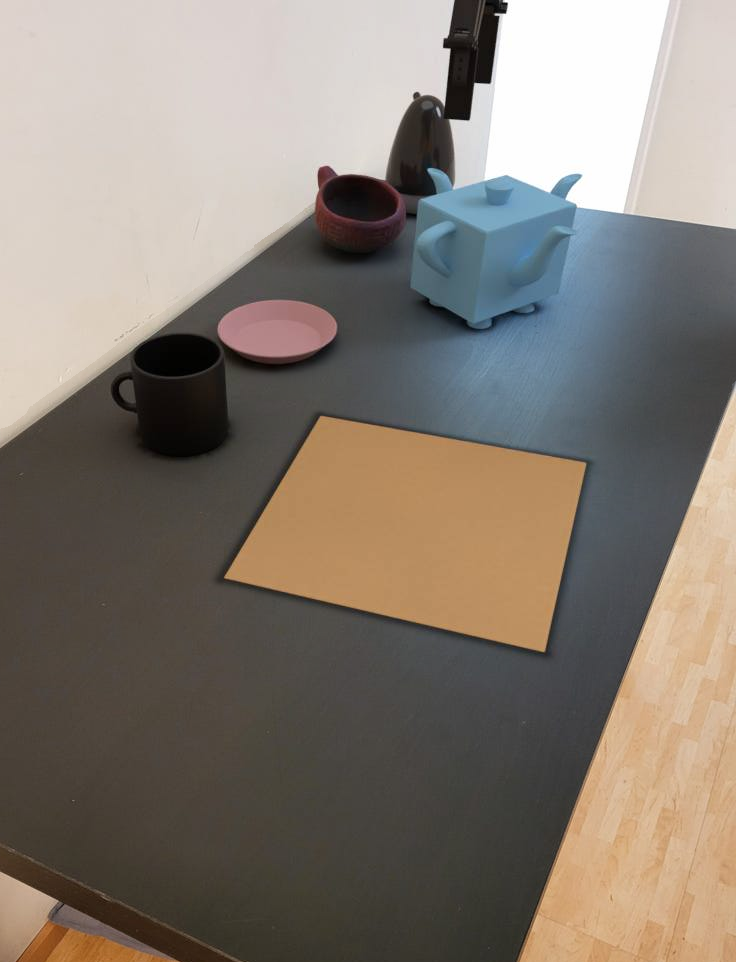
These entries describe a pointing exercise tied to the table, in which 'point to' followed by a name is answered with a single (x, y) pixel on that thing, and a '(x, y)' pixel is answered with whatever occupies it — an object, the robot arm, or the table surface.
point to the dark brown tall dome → (420, 151)
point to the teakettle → (491, 245)
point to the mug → (177, 393)
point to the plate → (277, 331)
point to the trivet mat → (419, 530)
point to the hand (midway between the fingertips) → (468, 100)
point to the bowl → (357, 211)
